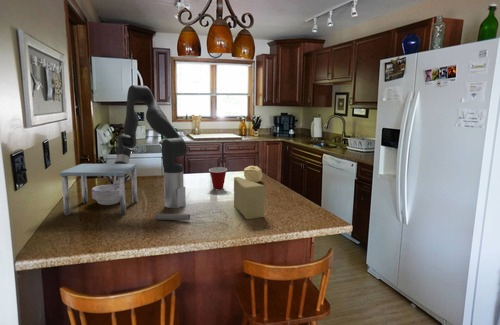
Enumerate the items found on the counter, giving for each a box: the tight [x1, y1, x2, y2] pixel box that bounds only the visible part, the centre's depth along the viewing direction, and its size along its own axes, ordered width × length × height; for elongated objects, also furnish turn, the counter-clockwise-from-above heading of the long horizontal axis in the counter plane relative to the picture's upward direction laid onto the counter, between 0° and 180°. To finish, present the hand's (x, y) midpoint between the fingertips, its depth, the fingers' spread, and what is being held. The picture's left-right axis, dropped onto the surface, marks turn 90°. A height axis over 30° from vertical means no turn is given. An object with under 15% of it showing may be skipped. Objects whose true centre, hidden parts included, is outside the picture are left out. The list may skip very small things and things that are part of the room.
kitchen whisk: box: [152, 209, 228, 226], centre depth 145 cm, size 6×34×6 cm, turn 79°
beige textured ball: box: [243, 165, 263, 183], centre depth 222 cm, size 11×12×11 cm
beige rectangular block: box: [233, 176, 266, 220], centre depth 159 cm, size 22×10×15 cm, turn 27°
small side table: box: [59, 163, 138, 216], centre depth 162 cm, size 22×27×20 cm
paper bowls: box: [91, 184, 120, 206], centre depth 171 cm, size 15×15×8 cm
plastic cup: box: [208, 166, 228, 190], centre depth 203 cm, size 11×11×12 cm
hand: (115, 191), depth 179 cm, fingers closed
